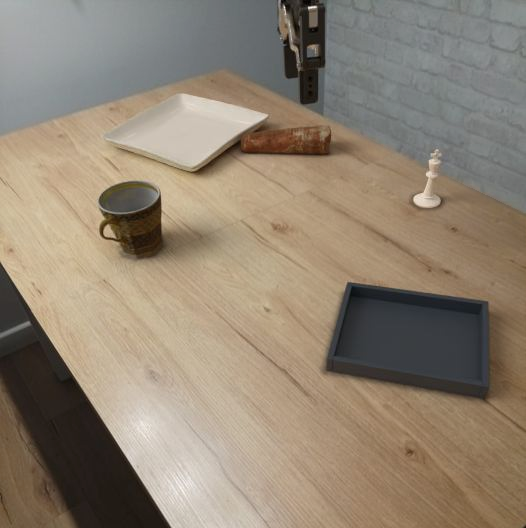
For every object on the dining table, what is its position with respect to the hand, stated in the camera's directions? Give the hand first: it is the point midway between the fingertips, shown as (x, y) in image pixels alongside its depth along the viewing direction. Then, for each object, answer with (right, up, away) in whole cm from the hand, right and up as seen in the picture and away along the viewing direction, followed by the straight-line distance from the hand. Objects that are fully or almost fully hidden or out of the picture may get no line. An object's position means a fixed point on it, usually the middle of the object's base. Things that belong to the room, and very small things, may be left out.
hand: (300, 89), depth 64 cm
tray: (+15, -31, +7) cm, 35 cm away
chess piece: (+25, -6, +30) cm, 39 cm away
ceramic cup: (-26, -16, +24) cm, 39 cm away
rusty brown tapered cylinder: (0, +9, +46) cm, 47 cm away
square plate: (-21, +14, +52) cm, 58 cm away
